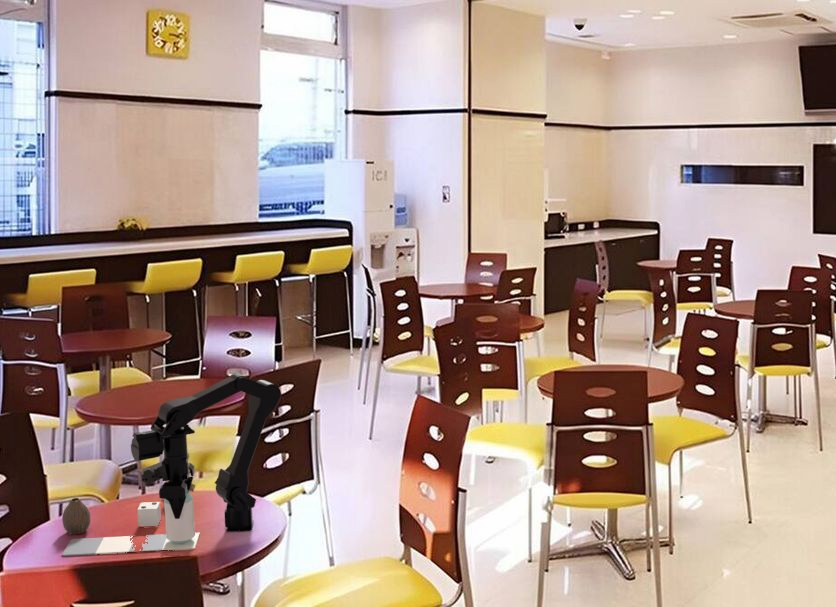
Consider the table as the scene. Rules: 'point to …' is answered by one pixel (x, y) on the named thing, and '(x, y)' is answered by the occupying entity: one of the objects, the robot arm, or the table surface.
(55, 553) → the table surface
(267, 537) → the table surface
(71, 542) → the board
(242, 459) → the robot arm
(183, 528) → the can
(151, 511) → the die
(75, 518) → the vase
